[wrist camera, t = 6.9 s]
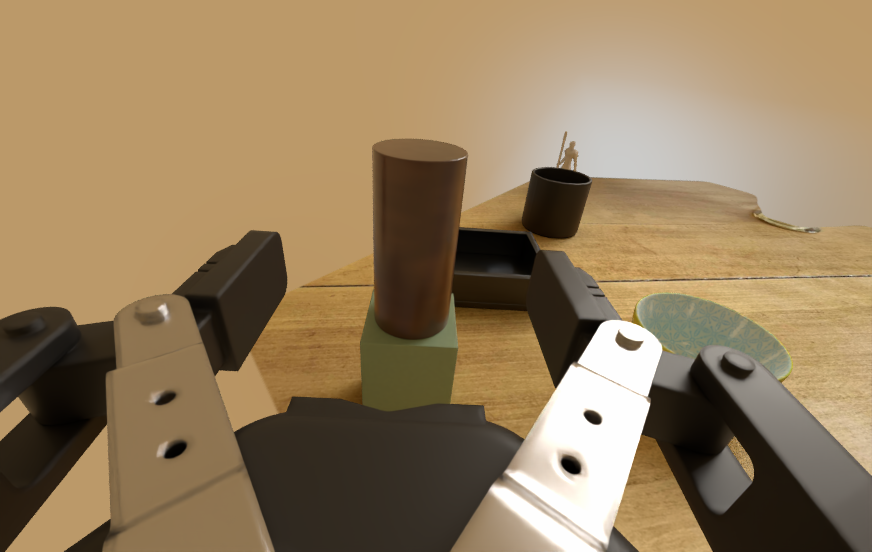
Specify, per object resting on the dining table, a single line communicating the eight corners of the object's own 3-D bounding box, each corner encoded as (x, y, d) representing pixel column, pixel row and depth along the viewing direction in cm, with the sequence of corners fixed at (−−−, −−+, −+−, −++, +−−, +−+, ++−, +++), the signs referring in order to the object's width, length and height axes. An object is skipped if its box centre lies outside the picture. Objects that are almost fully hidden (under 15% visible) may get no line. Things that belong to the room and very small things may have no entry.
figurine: (544, 187, 83) (557, 131, 77) (558, 184, 86) (571, 130, 80) (563, 194, 80) (578, 136, 74) (577, 191, 83) (593, 135, 77)
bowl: (781, 451, 29) (831, 397, 25) (625, 415, 30) (654, 360, 27) (720, 354, 38) (752, 305, 35) (604, 330, 40) (624, 282, 37)
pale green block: (363, 435, 27) (359, 342, 22) (374, 374, 32) (373, 288, 28) (445, 439, 27) (458, 348, 23) (443, 377, 32) (453, 293, 28)
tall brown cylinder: (369, 337, 23) (365, 156, 17) (379, 292, 27) (378, 135, 21) (449, 342, 23) (472, 165, 17) (447, 296, 27) (464, 142, 22)
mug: (557, 211, 71) (569, 164, 66) (586, 239, 61) (603, 185, 56) (510, 210, 69) (519, 161, 65) (531, 238, 59) (544, 183, 54)
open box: (438, 305, 42) (441, 273, 39) (437, 253, 52) (439, 225, 50) (548, 312, 42) (557, 280, 40) (524, 259, 53) (531, 231, 51)
